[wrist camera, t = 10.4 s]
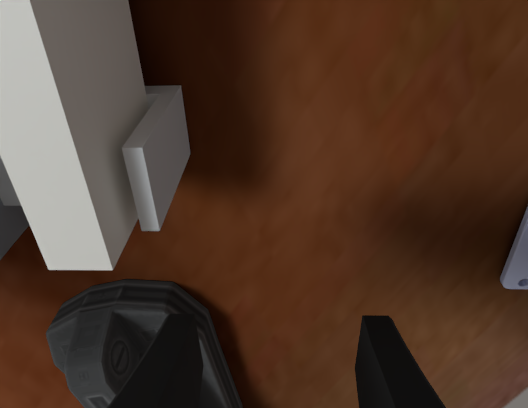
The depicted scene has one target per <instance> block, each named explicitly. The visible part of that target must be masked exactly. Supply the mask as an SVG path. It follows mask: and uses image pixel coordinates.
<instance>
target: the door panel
mask: <svg viewBox="0 0 528 408" xmlns="http://www.w3.org/2000/svg"><path fill="white" fill-rule="evenodd" d="M148 110H149V107H148V102H147V97H146V91H145V86H144V81H143V76H142V70H141V65H140V60H139V55H138V49H137V44H136V39H135V34H134V28H133V23H132V18H131V13H130V7H129V2H128V0H0V156H1V159H2V161H3V163H4V166H5V168H6V170H7V173H8V175H9V178H10V180H11V182H12V185H13V187H14V189H15V192H16V194H17V196H18V199H19V201H20V204H21V206H22V208H23V211H24V213H25V215H26V218H27V220H28V222H29V225H30V227H31V230H32V232H33V234H34V237H35V239H36V241H37V244H38V246H39V248H40V251H41V253H42V256H43V258H44V260H45V263H46V265H47V267H48V270H113V269H114V267H115V265H116V263H117V261H118V259H119V257H120V255H121V253H122V251H123V249H124V247H125V245H126V243H127V240H128V238H129V236H130V234H131V232H132V230H133V228H134V226H135V224H136V222H137V220H138V214H137V210H136V205H135V201H134V197H133V193H132V189H131V185H130V181H129V176H128V172H127V168H126V164H125V160H124V156H123V152H122V147H123V145H124V144H125V143H126V141H127V140H128V138H129V137H130V136H131V134H132V133H133V131H134V130H135V128H136V127H137V126H138V124H139V123H140V121H141V120H142V119H143V117H144V116H145V114H146V113H147V112H148Z"/></svg>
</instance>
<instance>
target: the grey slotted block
mask: <svg viewBox="0 0 528 408" xmlns="http://www.w3.org/2000/svg"><path fill="white" fill-rule="evenodd" d="M145 91H146V97H147V102H148V107H149V110H148V112H147V113H146V114H145V116H144V117H143V119H142V120H141V121H140V123H139V124H138V126H137V127H136V128H135V130H134V131H133V133H132V134H131V136H130V137H129V138H128V140H127V141H126V143H125V144H124V145H123V147H122V152H123V156H124V160H125V164H126V168H127V172H128V176H129V181H130V185H131V189H132V193H133V197H134V201H135V205H136V210H137V214H138V218H139V222H140V226H141V230H142V231H160V229H161V227H162V224H163V222H164V219H165V217H166V214H167V212H168V209H169V207H170V204H171V201H172V199H173V196H174V194H175V191H176V189H177V186H178V184H179V181H180V179H181V176H182V174H183V171H184V169H185V166H186V164H187V161H188V159H189V156H190V154H191V153H190V145H189V138H188V131H187V124H186V117H185V110H184V103H183V96H182V89H181V85H171V86H145ZM28 226H29V222H28V220H27V218H26V215H25V213H24V211H23V208H22V206H21V204H20V201H19V199H18V196H17V194H16V192H15V189H14V187H13V185H12V182H11V180H10V178H9V175H8V173H7V170H6V168H5V166H4V163H3V161H2V159H1V156H0V260H1V259H2V257H3V256H4V255H5V254H6V253H7V251H8V250H9V249H10V248H11V247H12V245H13V244H14V243H15V242H16V241H17V239H18V238H19V237H20V236H21V235H22V233H23V232H24V231H25V230H26V229H27V227H28Z"/></svg>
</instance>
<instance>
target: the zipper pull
mask: <svg viewBox="0 0 528 408" xmlns="http://www.w3.org/2000/svg"><path fill="white" fill-rule="evenodd" d="M169 314H195V320H196V326H197V331H198V337H199V342H200V348H201V354H202V359H203V365H204V366H203V374H202V383H201V391H200V399H199V406H198V408H243V406H242V403H241V400H240V397H239V395H238V392H237V389H236V386H235V384H234V381H233V378H232V376H231V373H230V370H229V368H228V365H227V362H226V359H225V357H224V354H223V351H222V349H221V346H220V343H219V340H218V337H217V334H216V331H215V328H214V325H213V322H212V319H211V316H210V313H209V311H208V309H207V308H205V307H204V306H203V305H202V304H200V303H199V302H198V301H197V300H196V299H194V298H193V297H192V296H191V295H189V294H188V293H187V292H186V291H184V290H183V289H182V288H181V287H179V286H178V285H177V284H176V283H174V282H171V281H154V280H137V279H124V280H119V281H114V282H109V283H104V284H99V285H94V286H92V287H90V288H88V289H86V290H85V291H83V292H81V293H80V294H78V295H76V296H74V297H73V298H71V299H69V300H68V301H66V302H64V303H63V304H62V306H61V307H60V309H59V311H58V313H57V314H56V316H55V318H54V320H53V321H52V323H51V325H50V326H49V328H48V330H47V332H46V337H47V340H48V344H49V347H50V351H51V355H52V358H53V362H54V364H55V366H56V367H58V368H59V369H60V370H61V371H62V372H63V373H64V374H65V376H66V381H67V385H68V388H69V390H70V391H71V392H72V394H73V395H74V396H75V397H76V398H77V399H78V401H79V402H80V403H81V404H82V405H83V406H84V408H107V407H108V406H109V404H110V403H111V402H112V400H113V399H114V397H115V396H116V395H117V393H118V392H119V390H120V389H121V387H122V386H123V385H124V383H125V382H126V380H127V379H128V377H129V376H130V374H131V373H132V371H133V370H134V368H135V367H136V366H137V364H138V362H139V361H140V359H141V358H142V356H143V355H144V353H145V352H146V350H147V348H148V347H149V345H150V344H151V342H152V340H153V339H154V337H155V335H156V334H157V332H158V330H159V329H160V327H161V325H162V324H163V322H164V320H165V318H166V317H167V316H168V315H169Z"/></svg>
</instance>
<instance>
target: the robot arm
mask: <svg viewBox="0 0 528 408" xmlns="http://www.w3.org/2000/svg"><path fill="white" fill-rule="evenodd" d="M522 279H523V280H522ZM520 280H521V281H520ZM500 282H501V283H502V285H503V287H505V288H506V289H528V206H527V209H526V212H525V214H524V217H523V219H522V222H521V225H520V227H519V230H518V232H517V235H516V238H515V240H514V243H513V245H512V248H511V251H510V253H509V256H508V258H507V261H506V264H505V266H504V269H503V271H502V274H501V277H500ZM203 366H204V365H203V359H202V354H201V348H200V342H199V337H198V331H197V326H196V320H195V314H169V315H168V316H167V317H166V318H165V320H164V322H163V324H162V325H161V327H160V329H159V330H158V332H157V334H156V335H155V337H154V339H153V340H152V342H151V344H150V345H149V347H148V348H147V350H146V352H145V353H144V355H143V356H142V358H141V359H140V361H139V362H138V364H137V366H136V367H135V368H134V370H133V371H132V373H131V374H130V376H129V377H128V379H127V380H126V382H125V383H124V385H123V386H122V387H121V389H120V390H119V392H118V393H117V395H116V396H115V397H114V399H113V400H112V402H111V403H110V404H109V406H108V407H107V408H198V406H199V399H200V391H201V383H202V374H203ZM355 373H356V382H357V392H358V400H359V408H446V407H445V406H444V404H443V403H442V401H441V400H440V398H439V397H438V395H437V394H436V392H435V391H434V389H433V388H432V386H431V385H430V383H429V382H428V380H427V379H426V377H425V376H424V374H423V372H422V371H421V369H420V368H419V366H418V364H417V363H416V361H415V359H414V358H413V356H412V354H411V353H410V351H409V349H408V348H407V346H406V344H405V342H404V341H403V339H402V337H401V335H400V333H399V332H398V330H397V328H396V326H395V324H394V322H393V320H392V319H391V318H390V317H389V316H362V323H361V330H360V337H359V343H358V350H357V357H356V364H355Z"/></svg>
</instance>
